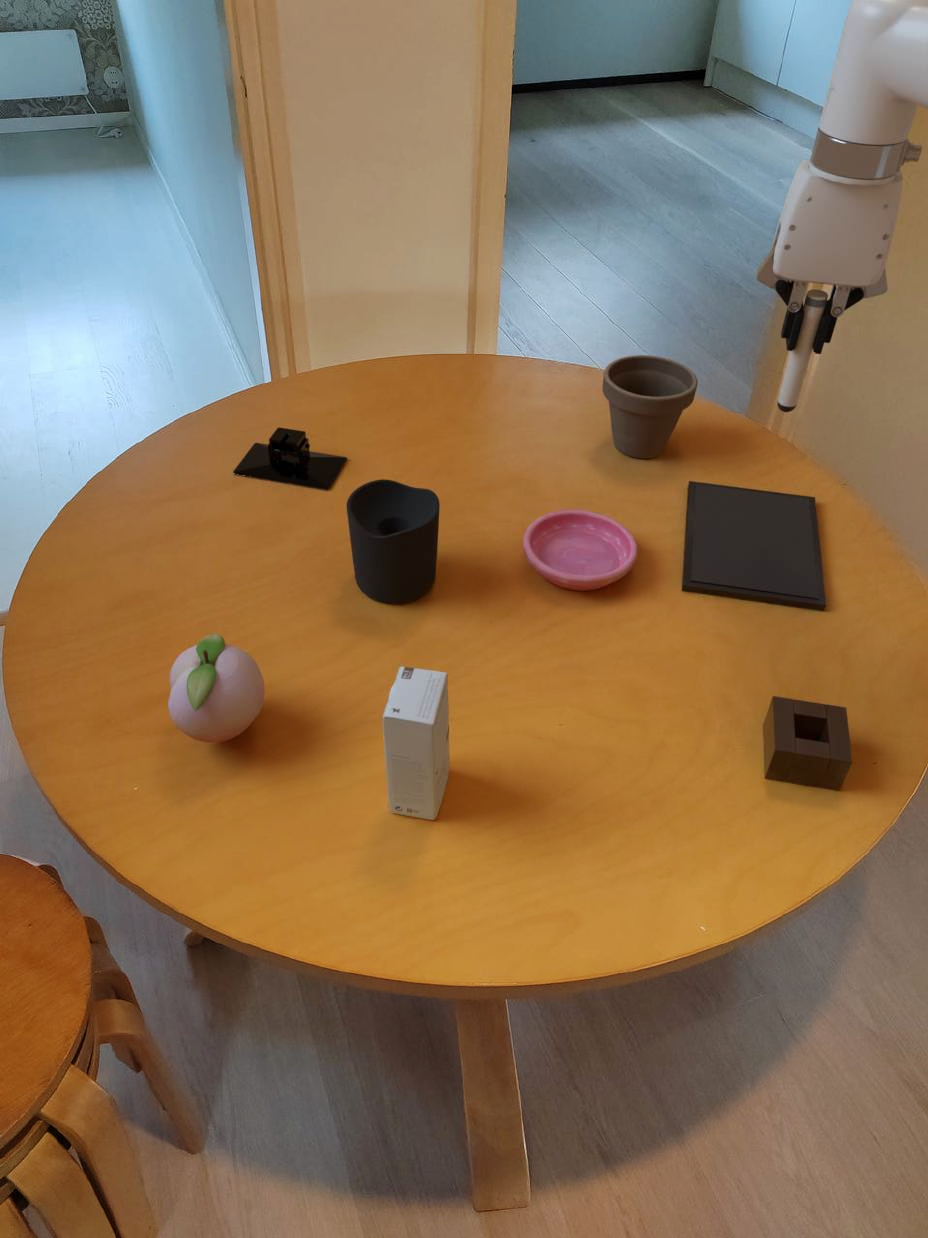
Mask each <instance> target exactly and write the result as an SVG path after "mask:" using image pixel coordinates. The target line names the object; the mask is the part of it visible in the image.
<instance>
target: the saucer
mask: <svg viewBox="0 0 928 1238" xmlns="http://www.w3.org/2000/svg"><path fill="white" fill-rule="evenodd" d="M522 550H523V554H524V556H525V558H526V560H527V562H528V563H529V564H530V566H531V567H532V568H533V569H534V570H535V571H536V573H538V574H540V575H541V576H542V577H543V578H544V579H545V580H547V581H548V582H549V583H552V584H553V585H555V586H557V587H560V588H563V589H565V590H566V589H567V590H572V591H593V590H598V589H602V588H605V587H606V586H608V585H611V584H613V583H615V582H617V581H618V580H620V579H621V578H623V577H624V576H626V575H627V574H628V573H629V572H630V571H631V570H632V568H633V567H634V566H635V563H636V560H637V556H638V545H637V541H636V539H635V537H634V535H633V534H632V533H631V531H630V530H629V529H628V528H626V526H624V525H623V524H621V523H620V522H619V521H617V520H615V519H613V518H612V517H610V516H607V515H605V514H602V513H598V512H595V511H590V510H585V509H562V510H556V511H552V512H549V513H546V514H544V515H542V516H540V517H538V518H537V519H535V520H534V521H532V522H531V523H530V524H529V526H528V527H527V528H526V530H525V532H524V534H523V540H522Z"/></svg>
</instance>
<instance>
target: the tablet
mask: <svg viewBox="0 0 928 1238" xmlns="http://www.w3.org/2000/svg"><path fill="white" fill-rule="evenodd" d="M816 503H817V502H816V497H815V496H808V495H802V494H801V495H800V494H794V493H786V492H778V491H770V490H763V489H755V488H749V487H748V488H747V487H739V486H731V485H725V484H724V485H723V484H715V483H708V482H701V481H694V480H693V481H692V480H689V481H688V484H687V495H686V511H685V512H686V513H685V527H684V528H685V529H684V542H683V543H684V544H683V545H684V546H683V559H682V560H683V562H682V575H681V576H682V577H681V591H683V592H689V593H695V594H701V595H702V594H703V595H710V596H715V597H723V598H724V597H725V598H731V599H738V600H745V601H751V602H758V603H766V604H772V605H780V606H785V607H793V608H800V609H806V610H807V609H808V610H813V611H821V612H824V611H825V610H826V607H827V599H826V598H827V597H826V588H825V580H824V570H823V560H822V552H821V550H822V549H821V541H820V532H819V522H818V511H817V504H816Z"/></svg>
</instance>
